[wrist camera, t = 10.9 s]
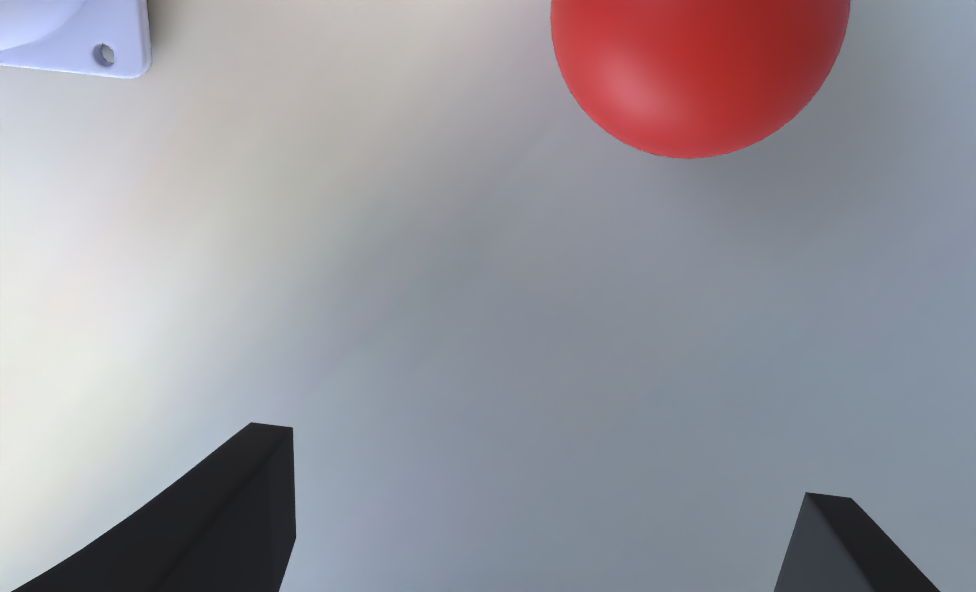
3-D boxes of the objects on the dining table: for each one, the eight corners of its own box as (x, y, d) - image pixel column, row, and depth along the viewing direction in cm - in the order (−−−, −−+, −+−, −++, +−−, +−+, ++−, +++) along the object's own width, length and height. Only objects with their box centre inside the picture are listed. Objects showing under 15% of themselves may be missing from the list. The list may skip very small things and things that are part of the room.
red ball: (541, 103, 20) (529, 180, 15) (570, -156, 17) (567, -173, 12) (773, 128, 19) (840, 214, 14) (836, -133, 17) (943, -138, 12)
